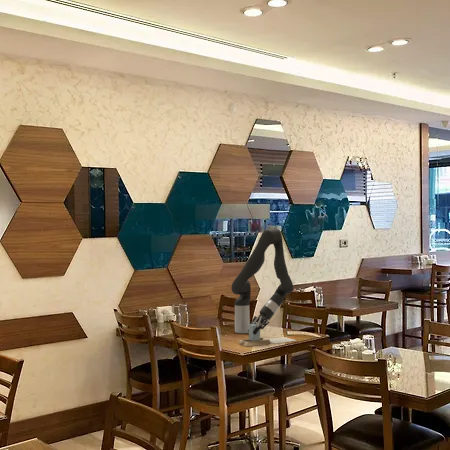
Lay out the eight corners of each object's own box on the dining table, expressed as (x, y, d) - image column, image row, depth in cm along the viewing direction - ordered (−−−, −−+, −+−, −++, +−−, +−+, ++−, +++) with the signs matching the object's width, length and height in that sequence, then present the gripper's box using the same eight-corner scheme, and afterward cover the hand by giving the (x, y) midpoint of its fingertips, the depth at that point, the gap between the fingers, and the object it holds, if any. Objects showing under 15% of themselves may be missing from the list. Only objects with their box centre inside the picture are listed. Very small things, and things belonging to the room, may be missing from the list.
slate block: (248, 339, 330) (248, 324, 330) (255, 338, 333) (255, 323, 333) (253, 340, 326) (252, 325, 326) (260, 340, 329) (259, 324, 328)
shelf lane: (239, 344, 329) (239, 340, 329) (262, 341, 337) (261, 337, 337) (246, 346, 322) (246, 342, 322) (269, 343, 329) (269, 339, 329)
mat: (263, 340, 339) (263, 339, 339) (284, 337, 346) (284, 336, 346) (274, 343, 328) (274, 343, 328) (296, 340, 335) (296, 340, 335)
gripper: (258, 303, 339) (241, 326, 334) (272, 307, 326) (253, 330, 321) (266, 312, 342) (249, 334, 336) (280, 315, 329) (262, 339, 323)
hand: (251, 332), depth 329 cm, fingers closed on slate block, 4 cm apart
